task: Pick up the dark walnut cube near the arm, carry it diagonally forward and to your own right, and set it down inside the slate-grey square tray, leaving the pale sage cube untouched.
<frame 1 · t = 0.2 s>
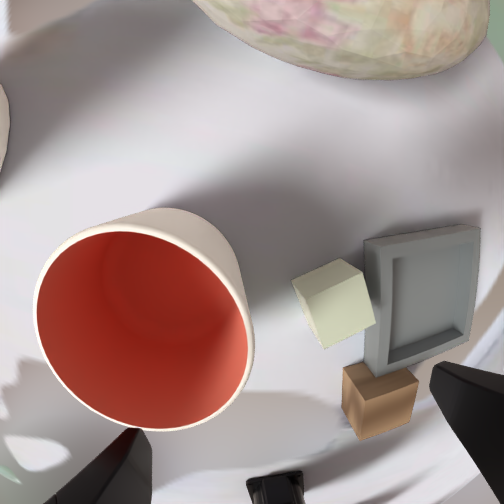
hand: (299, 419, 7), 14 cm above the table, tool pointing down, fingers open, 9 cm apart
cup: (169, 276, 21), on the table
ceramic pitcher: (316, 8, 17), on the table
walnut cube: (366, 380, 25), on the table
tray: (418, 293, 23), on the table
sage cube: (323, 291, 22), on the table
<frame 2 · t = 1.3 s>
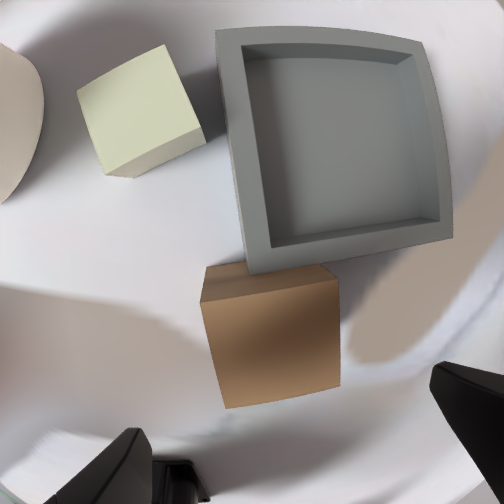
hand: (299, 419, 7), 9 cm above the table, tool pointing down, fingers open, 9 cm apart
walnut cube: (261, 304, 16), on the table
tray: (335, 141, 14), on the table
sage cube: (155, 126, 13), on the table
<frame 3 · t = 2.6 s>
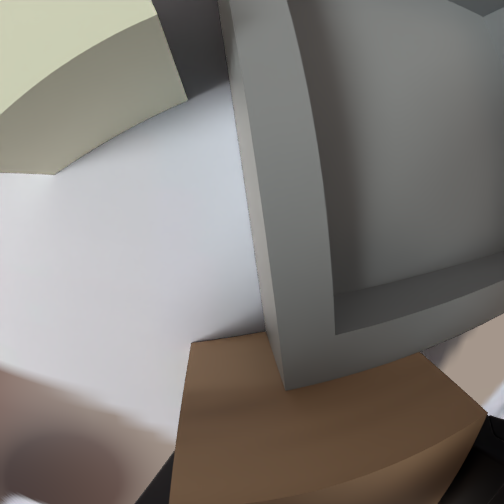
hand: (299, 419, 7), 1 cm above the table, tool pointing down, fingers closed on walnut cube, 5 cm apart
walnut cube: (291, 397, 8), on the table, touching gripper
tray: (422, 111, 7), on the table
sage cube: (94, 76, 6), on the table
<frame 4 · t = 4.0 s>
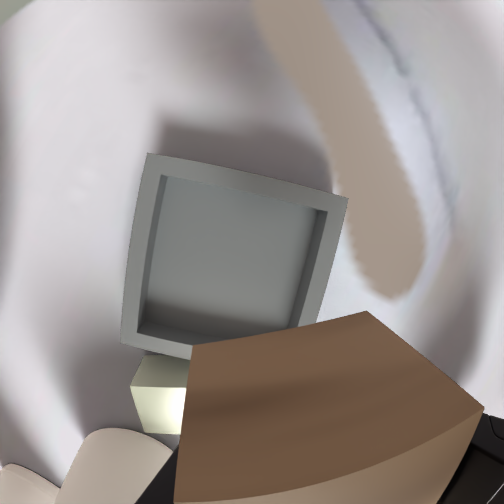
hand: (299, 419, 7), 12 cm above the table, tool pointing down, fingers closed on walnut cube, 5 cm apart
cup: (135, 456, 21), on the table
bottle: (44, 492, 22), on the table
walnut cube: (291, 398, 8), point 11 cm above the table, touching gripper
tray: (227, 265, 18), on the table
sage cube: (176, 377, 20), on the table
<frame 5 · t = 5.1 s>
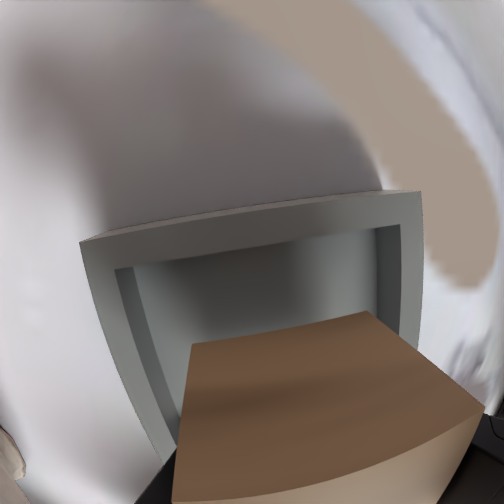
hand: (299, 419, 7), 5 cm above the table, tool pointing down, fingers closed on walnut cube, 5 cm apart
walnut cube: (290, 398, 8), point 4 cm above the table, touching gripper
tray: (269, 340, 12), on the table
when the fingers open (3 cm above the table, at t = 5.8 s): walnut cube stays where it is, resting on tray.
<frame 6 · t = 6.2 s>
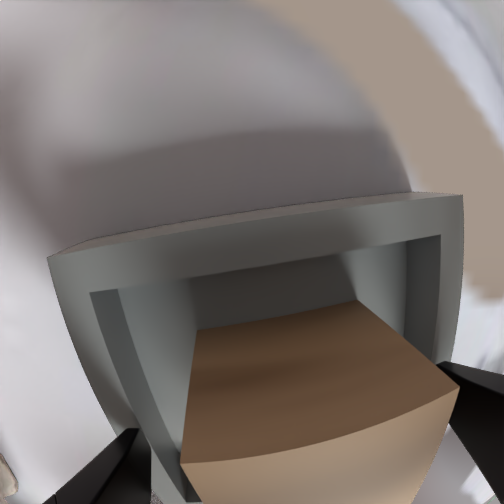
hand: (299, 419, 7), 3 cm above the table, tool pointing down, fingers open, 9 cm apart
walnut cube: (288, 381, 9), point 1 cm above the table, touching tray
tray: (280, 367, 10), on the table
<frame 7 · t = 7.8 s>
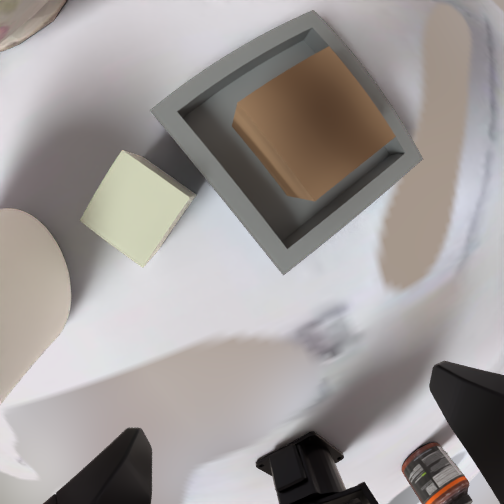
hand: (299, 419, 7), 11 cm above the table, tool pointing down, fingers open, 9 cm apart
cup: (24, 274, 17), on the table
supplement bottle: (418, 455, 27), on the table
walnut cube: (294, 135, 16), point 1 cm above the table, touching tray
tray: (291, 134, 17), on the table
sage cube: (150, 203, 17), on the table
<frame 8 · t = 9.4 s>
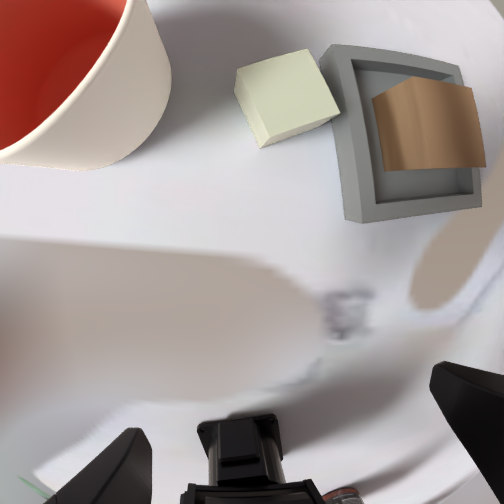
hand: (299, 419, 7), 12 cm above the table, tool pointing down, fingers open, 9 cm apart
cup: (102, 99, 16), on the table
supplement bottle: (335, 497, 26), on the table
walnut cube: (407, 134, 17), point 1 cm above the table, touching tray
tray: (402, 134, 18), on the table
sage cube: (276, 109, 17), on the table
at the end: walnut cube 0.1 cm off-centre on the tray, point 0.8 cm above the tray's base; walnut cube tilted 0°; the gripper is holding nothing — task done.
